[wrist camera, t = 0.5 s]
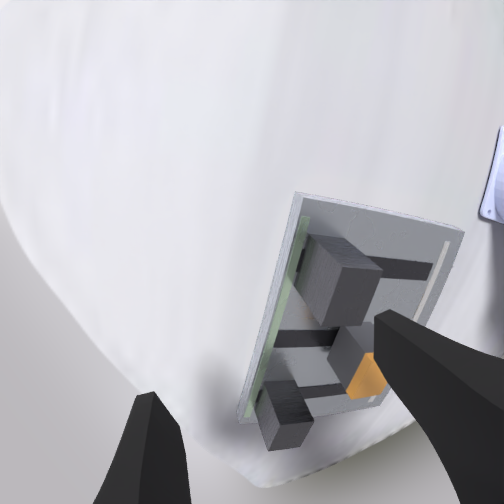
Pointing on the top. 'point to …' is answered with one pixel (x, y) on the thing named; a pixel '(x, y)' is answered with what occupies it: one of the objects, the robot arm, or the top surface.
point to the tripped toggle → (356, 361)
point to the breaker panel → (385, 297)
